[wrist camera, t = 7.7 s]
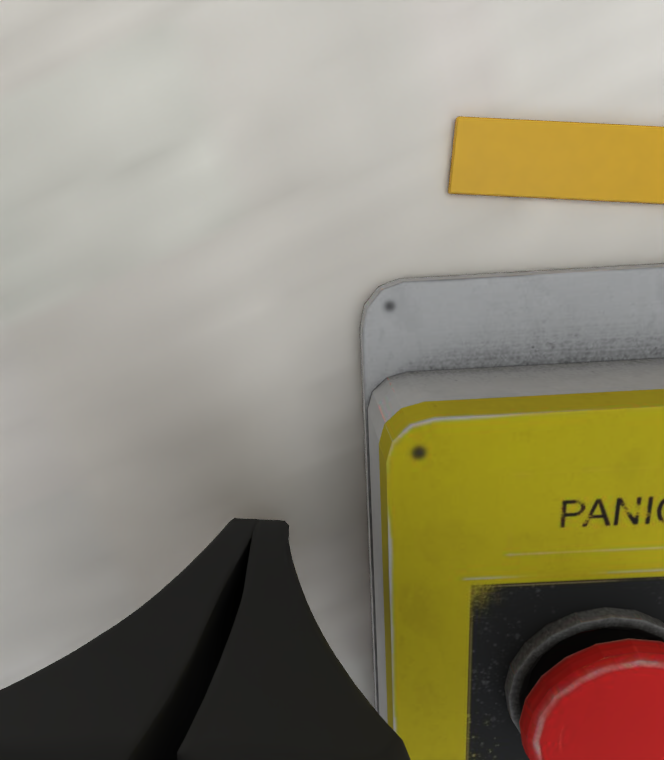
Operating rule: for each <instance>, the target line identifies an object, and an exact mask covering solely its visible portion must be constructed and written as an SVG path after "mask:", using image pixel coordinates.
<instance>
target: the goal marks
mask: <svg viewBox="0 0 664 760" xmlns="http://www.w3.org/2000/svg"><path fill="white" fill-rule="evenodd" d="M448 193H449V194H466V195H487V196H507V197H528V198H549V199H569V200H590V201H611V202H631V203H652V204H664V127H658V126H638V125H618V124H599V123H579V122H559V121H539V120H519V119H499V118H479V117H457V118H456V121H455V130H454V140H453V149H452V159H451V168H450V178H449V188H448Z"/></svg>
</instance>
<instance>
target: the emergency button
mask: <svg viewBox="0 0 664 760" xmlns="http://www.w3.org/2000/svg"><path fill="white" fill-rule="evenodd" d="M360 341H361V365H362V390H363V415H364V439H365V464H366V488H367V513H368V538H369V562H370V587H371V612H372V636H373V661H374V685H375V710H376V711H377V712H378V713H379V715H380V716H381V717H382V718H383V719H384V720H385V722H386V723H387V724H388V725H389V726H390V727H391V728H392V729H393V730H394V731H395V732H396V733H397V734H398V736H399V737H400V738H401V739H402V740H403V742H404V744H405V747H406V749H407V752H408V754H409V757H410V759H411V760H664V264H647V265H630V266H612V267H595V268H577V269H560V270H542V271H525V272H507V273H490V274H473V275H455V276H438V277H420V278H403V279H397V280H394V281H392V282H389V283H386V284H384V285H381V286H379V287H378V288H377V289H376V291H375V292H374V293H373V294H372V296H371V297H370V298H369V299H368V301H367V302H366V303H365V305H364V310H363V315H362V320H361V326H360Z"/></svg>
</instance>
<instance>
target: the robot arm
mask: <svg viewBox="0 0 664 760" xmlns="http://www.w3.org/2000/svg"><path fill="white" fill-rule="evenodd" d="M288 538H289V525H288V524H287V523H286V522H285V521H281V520H260V519H239V518H234V519H233V520H231V521H230V522H229V523H228V524H227V525H226V527H225V528H224V529H223V530H222V531H221V532H220V533H219V534H218V535H217V537H216V538H215V539H214V540H213V541H212V542H211V543H210V544H209V545H208V546H207V547H206V548H205V549H204V550H203V551H202V552H201V553H200V554H199V555H198V556H197V557H196V558H195V559H194V560H193V561H192V562H191V563H190V564H189V565H188V566H187V567H186V568H185V569H184V570H183V571H182V572H181V573H180V574H179V575H178V576H177V577H175V578H174V579H173V580H172V581H171V582H170V583H169V584H168V585H166V586H165V587H164V588H163V589H162V590H161V591H160V592H159V593H157V594H156V595H155V596H154V597H153V598H151V599H150V600H149V601H148V602H146V603H145V604H144V605H143V606H141V607H140V608H139V609H137V610H136V611H135V612H133V613H132V614H131V615H129V616H128V617H127V618H125V619H124V620H122V621H121V622H119V623H118V624H117V625H115V626H113V627H112V628H110V629H109V630H107V631H106V632H104V633H102V634H101V635H99V636H98V637H96V638H95V639H93V640H91V641H90V642H88V643H87V644H85V645H84V646H82V647H80V648H79V649H77V650H76V651H74V652H72V653H70V654H69V655H67V656H65V657H63V658H62V659H60V660H58V661H56V662H54V663H53V664H51V665H49V666H47V667H45V668H43V669H41V670H40V671H38V672H36V673H34V674H32V675H30V676H28V677H26V678H24V679H22V680H20V681H18V682H16V683H14V684H12V685H10V686H8V687H6V688H4V689H2V690H0V760H411V759H410V757H409V754H408V752H407V749H406V747H405V744H404V742H403V740H402V739H401V738H400V737H399V736H398V734H397V733H396V732H395V731H394V730H393V729H392V728H391V727H390V726H389V725H388V724H387V723H386V722H385V720H384V719H383V718H382V717H381V716H380V715H379V713H378V712H377V711H376V710H375V709H374V708H373V706H372V705H371V704H370V703H369V701H368V700H367V699H366V698H365V696H364V695H363V694H362V693H361V691H360V690H359V689H358V687H357V686H356V685H355V684H354V682H353V681H352V679H351V678H350V676H349V675H348V673H347V672H346V670H345V669H344V667H343V666H342V664H341V663H340V662H339V660H338V659H337V657H336V656H335V654H334V653H333V651H332V649H331V648H330V646H329V644H328V642H327V641H326V639H325V637H324V636H323V634H322V632H321V630H320V628H319V626H318V624H317V622H316V620H315V618H314V616H313V614H312V612H311V610H310V608H309V605H308V603H307V601H306V598H305V596H304V593H303V591H302V588H301V585H300V583H299V580H298V577H297V573H296V570H295V567H294V564H293V560H292V556H291V552H290V546H289V540H288Z"/></svg>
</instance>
